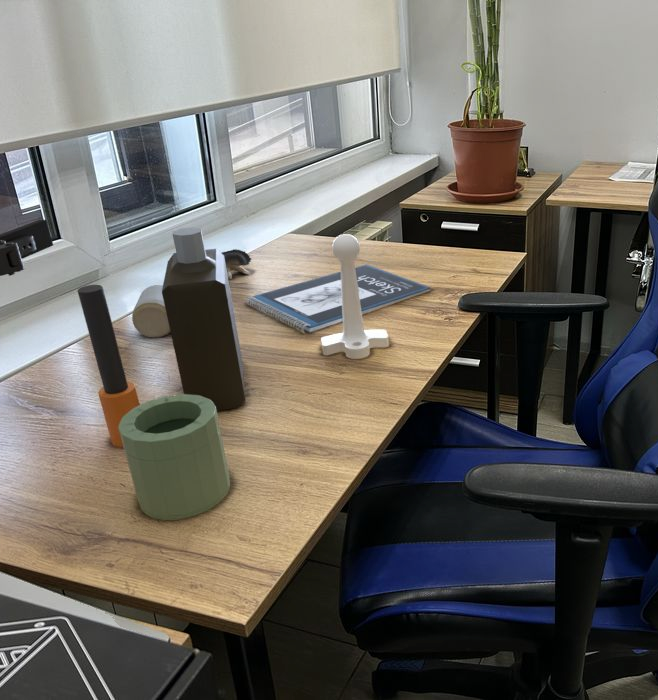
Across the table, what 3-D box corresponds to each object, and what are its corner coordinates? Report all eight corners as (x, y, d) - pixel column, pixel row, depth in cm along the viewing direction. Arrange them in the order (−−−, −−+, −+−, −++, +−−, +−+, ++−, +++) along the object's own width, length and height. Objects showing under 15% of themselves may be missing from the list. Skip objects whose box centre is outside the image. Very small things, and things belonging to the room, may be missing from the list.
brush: (105, 448, 94) (61, 294, 85) (125, 430, 98) (85, 281, 88) (135, 451, 93) (94, 295, 84) (154, 433, 97) (117, 283, 88)
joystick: (385, 338, 124) (377, 227, 116) (393, 356, 118) (385, 240, 109) (321, 346, 122) (308, 234, 113) (325, 365, 115) (312, 247, 106)
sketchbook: (431, 293, 144) (430, 284, 144) (305, 337, 125) (304, 327, 125) (366, 269, 158) (365, 260, 157) (244, 305, 139) (243, 296, 138)
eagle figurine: (214, 282, 148) (255, 268, 151) (200, 252, 148) (242, 237, 151) (215, 291, 155) (255, 276, 158) (202, 261, 155) (241, 248, 158)
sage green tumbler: (122, 518, 81) (98, 436, 76) (170, 466, 90) (152, 391, 85) (204, 527, 79) (185, 444, 75) (245, 474, 88) (231, 397, 84)
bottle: (243, 363, 116) (217, 214, 105) (246, 410, 102) (217, 244, 92) (191, 371, 114) (160, 219, 103) (188, 420, 100) (151, 251, 89)
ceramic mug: (134, 342, 124) (125, 301, 121) (144, 324, 132) (136, 285, 128) (197, 337, 126) (190, 297, 123) (203, 319, 134) (197, 281, 130)
